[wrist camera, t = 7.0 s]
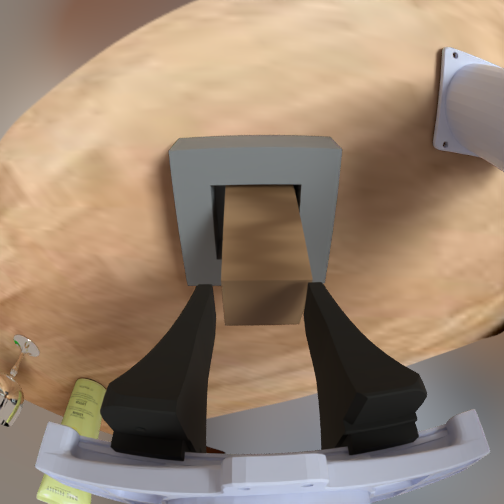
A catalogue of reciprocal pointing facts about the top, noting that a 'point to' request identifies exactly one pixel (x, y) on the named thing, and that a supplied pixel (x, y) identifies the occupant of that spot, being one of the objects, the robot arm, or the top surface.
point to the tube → (86, 424)
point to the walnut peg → (263, 256)
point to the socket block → (243, 173)
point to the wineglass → (14, 384)
